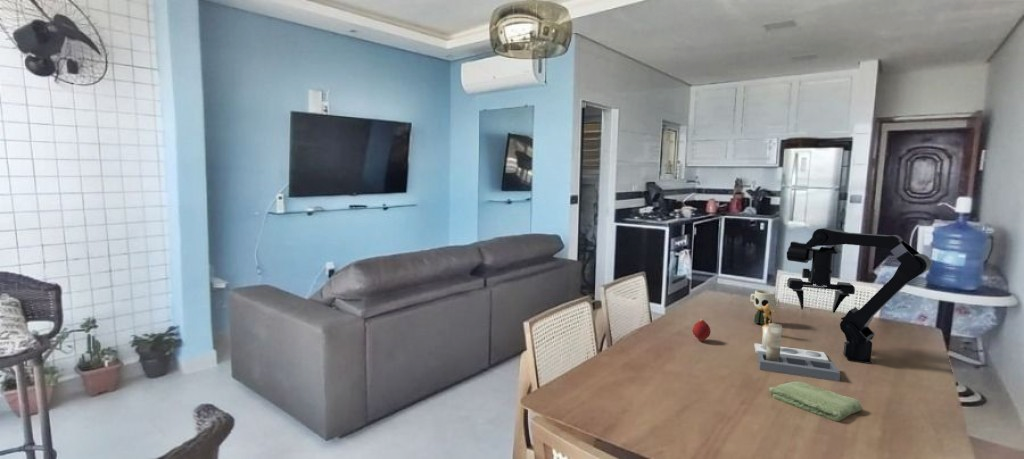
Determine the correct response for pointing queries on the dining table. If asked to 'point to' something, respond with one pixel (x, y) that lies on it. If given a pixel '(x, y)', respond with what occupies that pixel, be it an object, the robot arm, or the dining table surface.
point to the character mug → (763, 304)
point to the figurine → (766, 314)
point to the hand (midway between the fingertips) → (817, 310)
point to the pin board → (800, 366)
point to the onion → (701, 330)
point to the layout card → (789, 349)
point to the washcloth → (816, 400)
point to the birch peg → (774, 342)
